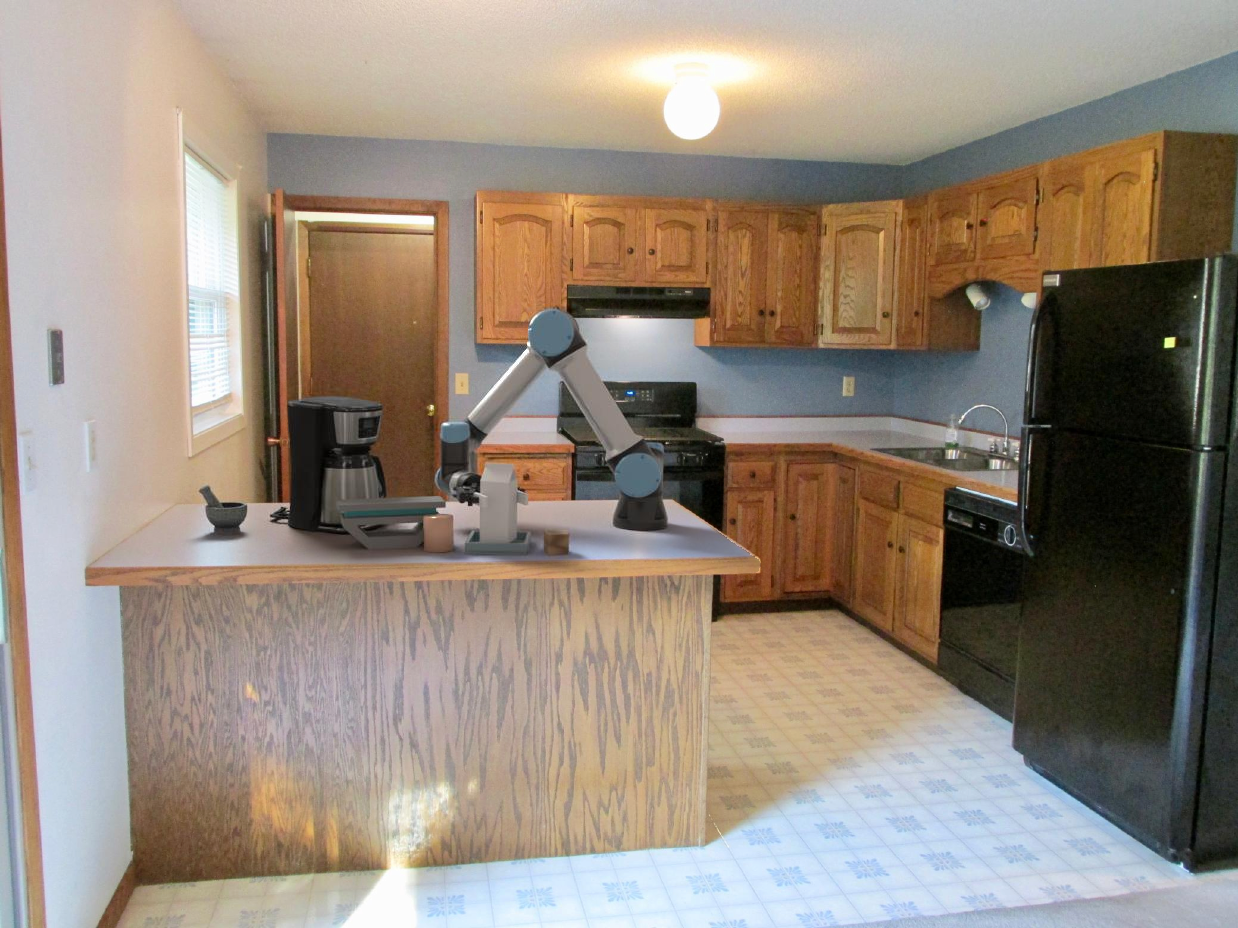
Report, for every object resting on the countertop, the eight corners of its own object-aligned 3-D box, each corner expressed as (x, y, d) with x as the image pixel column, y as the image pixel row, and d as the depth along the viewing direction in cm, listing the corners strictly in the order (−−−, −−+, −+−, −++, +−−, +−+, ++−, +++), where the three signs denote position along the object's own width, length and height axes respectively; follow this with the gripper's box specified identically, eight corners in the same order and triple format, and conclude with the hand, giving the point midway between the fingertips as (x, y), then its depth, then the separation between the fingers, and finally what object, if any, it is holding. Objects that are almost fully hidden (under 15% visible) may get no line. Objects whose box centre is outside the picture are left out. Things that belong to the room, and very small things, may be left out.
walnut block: (563, 550, 239) (564, 529, 238) (568, 554, 234) (569, 534, 234) (543, 551, 237) (543, 530, 237) (548, 555, 233) (548, 534, 232)
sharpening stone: (439, 538, 248) (439, 496, 246) (445, 545, 240) (445, 501, 239) (336, 543, 239) (335, 499, 238) (339, 550, 232) (338, 505, 230)
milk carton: (507, 544, 235) (509, 465, 232) (479, 542, 236) (480, 464, 234) (516, 539, 242) (518, 462, 239) (489, 536, 243) (490, 460, 241)
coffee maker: (370, 536, 249) (369, 402, 244) (245, 531, 251) (242, 398, 246) (396, 519, 271) (395, 397, 267) (281, 515, 273) (279, 393, 269)
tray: (530, 541, 247) (530, 531, 246) (527, 554, 232) (527, 544, 232) (471, 540, 246) (472, 530, 246) (464, 553, 232) (464, 542, 231)
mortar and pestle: (249, 527, 255) (248, 481, 253) (246, 535, 246) (244, 487, 244) (202, 529, 252) (201, 482, 250) (197, 536, 243) (195, 488, 241)
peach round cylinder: (456, 546, 239) (456, 513, 238) (449, 552, 232) (449, 519, 231) (428, 545, 239) (427, 513, 238) (420, 552, 232) (419, 518, 231)
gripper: (508, 498, 259) (548, 513, 240) (427, 504, 247) (462, 519, 229) (509, 470, 258) (549, 482, 239) (427, 474, 246) (462, 487, 228)
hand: (506, 500), depth 234 cm, fingers closed on milk carton, 10 cm apart
